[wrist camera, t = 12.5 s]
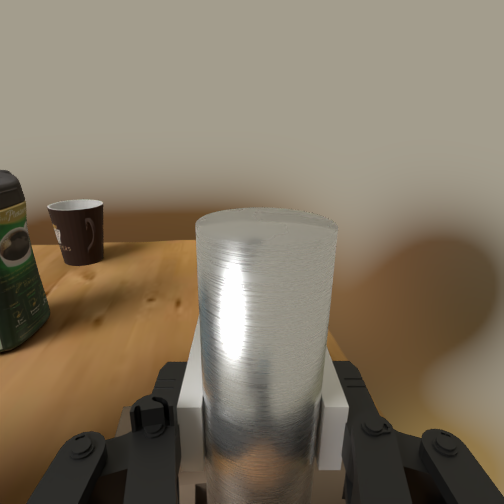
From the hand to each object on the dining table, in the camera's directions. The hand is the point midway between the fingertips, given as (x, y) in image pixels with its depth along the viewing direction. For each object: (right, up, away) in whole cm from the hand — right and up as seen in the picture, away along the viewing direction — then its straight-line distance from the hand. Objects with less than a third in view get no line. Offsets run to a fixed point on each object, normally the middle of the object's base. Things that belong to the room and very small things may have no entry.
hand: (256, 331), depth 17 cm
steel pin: (0, -11, -2) cm, 11 cm away
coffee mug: (-30, +2, +45) cm, 54 cm away
